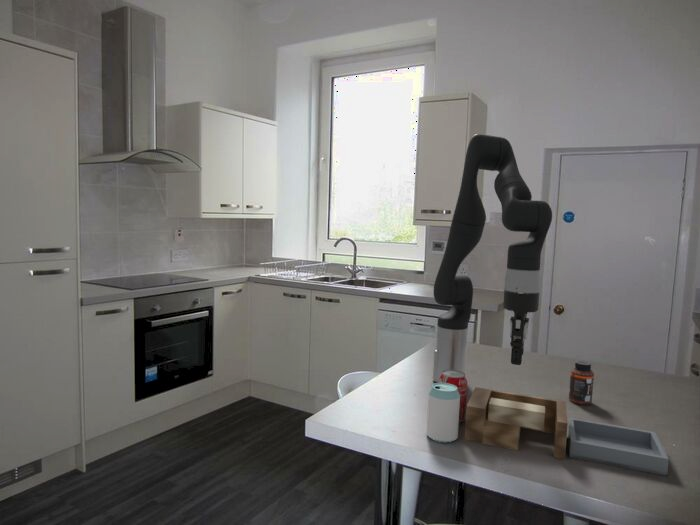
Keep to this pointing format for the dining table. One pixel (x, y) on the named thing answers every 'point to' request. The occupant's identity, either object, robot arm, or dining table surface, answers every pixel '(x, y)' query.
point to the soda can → (461, 383)
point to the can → (443, 412)
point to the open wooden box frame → (510, 434)
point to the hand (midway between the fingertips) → (517, 359)
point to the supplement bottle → (581, 383)
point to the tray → (616, 446)
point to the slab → (516, 413)
